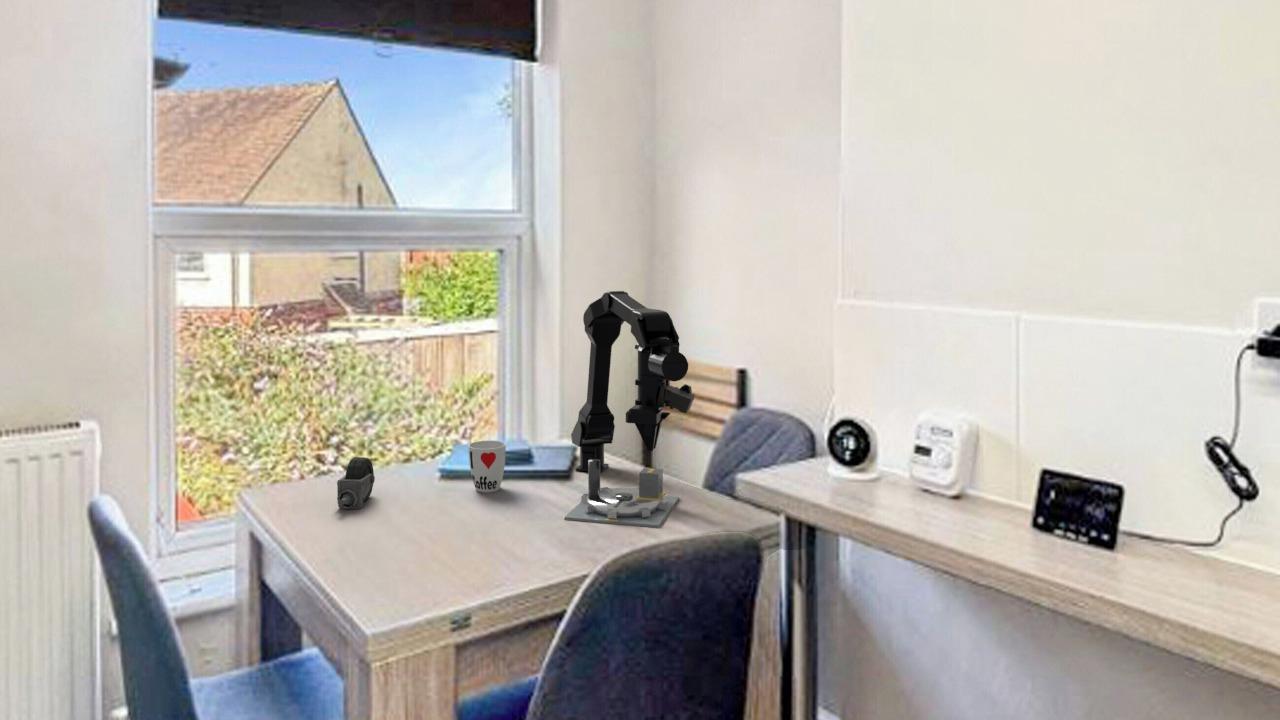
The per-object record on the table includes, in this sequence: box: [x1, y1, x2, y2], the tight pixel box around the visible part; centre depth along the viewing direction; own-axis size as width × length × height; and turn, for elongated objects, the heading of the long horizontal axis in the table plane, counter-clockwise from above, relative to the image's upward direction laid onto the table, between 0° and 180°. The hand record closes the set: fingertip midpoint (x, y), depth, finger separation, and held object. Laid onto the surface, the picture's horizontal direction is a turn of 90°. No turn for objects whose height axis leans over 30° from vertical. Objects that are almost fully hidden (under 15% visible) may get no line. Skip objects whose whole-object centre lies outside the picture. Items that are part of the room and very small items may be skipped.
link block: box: [638, 467, 664, 498], centre depth 185 cm, size 4×4×5 cm
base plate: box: [564, 495, 680, 529], centre depth 184 cm, size 19×19×1 cm
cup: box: [467, 440, 507, 493], centre depth 197 cm, size 8×8×10 cm
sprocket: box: [580, 459, 667, 519], centre depth 184 cm, size 18×18×10 cm
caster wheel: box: [336, 457, 376, 510], centre depth 187 cm, size 6×10×15 cm
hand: (651, 449), depth 184 cm, fingers closed
